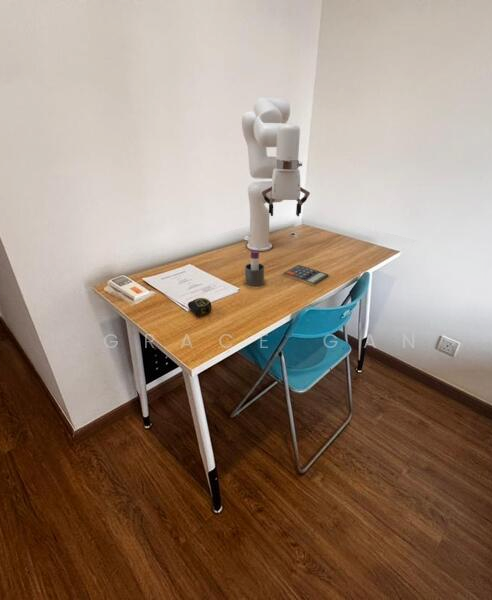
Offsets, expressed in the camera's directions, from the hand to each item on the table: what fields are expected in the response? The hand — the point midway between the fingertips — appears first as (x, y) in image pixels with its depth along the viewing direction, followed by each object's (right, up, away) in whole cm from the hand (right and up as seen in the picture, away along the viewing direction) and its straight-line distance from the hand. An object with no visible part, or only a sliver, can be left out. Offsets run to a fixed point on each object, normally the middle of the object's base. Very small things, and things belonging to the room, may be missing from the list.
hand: (284, 215), depth 118 cm
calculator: (+10, -21, +17) cm, 29 cm away
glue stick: (-11, -24, +8) cm, 28 cm away
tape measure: (-29, -36, -11) cm, 47 cm away
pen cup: (-12, -25, +9) cm, 29 cm away
